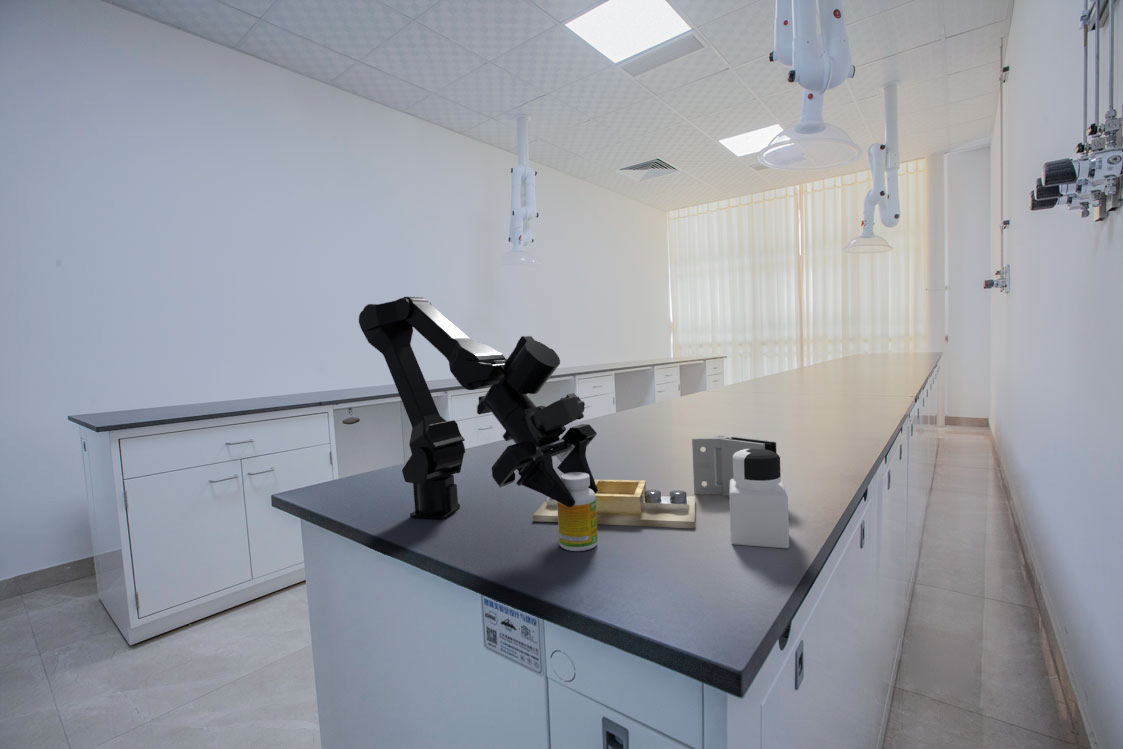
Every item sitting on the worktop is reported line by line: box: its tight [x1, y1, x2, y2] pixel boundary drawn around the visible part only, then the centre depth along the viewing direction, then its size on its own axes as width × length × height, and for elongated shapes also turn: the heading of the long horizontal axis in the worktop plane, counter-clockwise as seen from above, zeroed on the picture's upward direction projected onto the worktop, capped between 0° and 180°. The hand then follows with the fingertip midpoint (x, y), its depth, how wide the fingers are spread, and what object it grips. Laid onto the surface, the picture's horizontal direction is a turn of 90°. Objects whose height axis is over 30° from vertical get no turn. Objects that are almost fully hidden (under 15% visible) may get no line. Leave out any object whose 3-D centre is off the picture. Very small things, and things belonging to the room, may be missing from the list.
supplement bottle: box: [557, 472, 599, 552], centre depth 69 cm, size 5×5×10 cm
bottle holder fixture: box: [545, 479, 689, 516], centre depth 82 cm, size 23×9×3 cm, turn 75°
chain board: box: [532, 495, 696, 529], centre depth 82 cm, size 25×12×1 cm, turn 75°
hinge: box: [691, 435, 778, 497], centre depth 87 cm, size 14×5×10 cm, turn 52°
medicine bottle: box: [728, 449, 790, 549], centre depth 68 cm, size 7×7×12 cm
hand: (584, 499), depth 68 cm, fingers closed on supplement bottle, 5 cm apart
